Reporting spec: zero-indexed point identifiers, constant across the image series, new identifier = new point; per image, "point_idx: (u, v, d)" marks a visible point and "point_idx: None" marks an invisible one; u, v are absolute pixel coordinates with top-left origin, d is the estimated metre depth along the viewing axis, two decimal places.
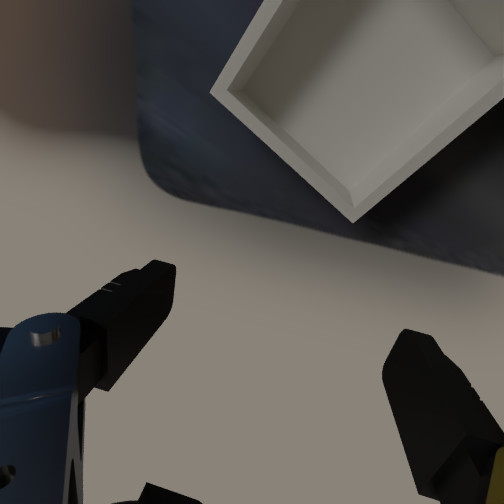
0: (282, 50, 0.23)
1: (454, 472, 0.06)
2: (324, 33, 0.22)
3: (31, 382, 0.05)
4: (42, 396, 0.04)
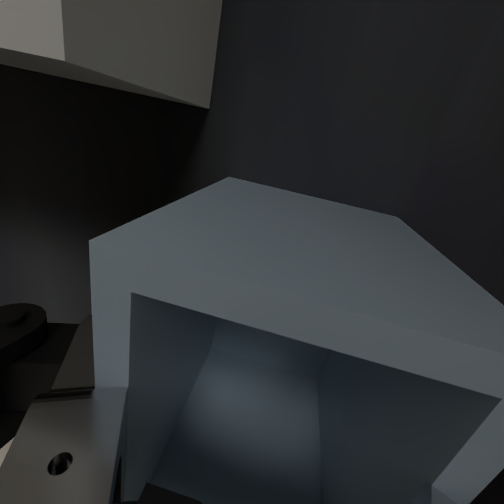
0: None
1: None
2: None
3: (92, 373, 0.05)
4: (101, 389, 0.04)
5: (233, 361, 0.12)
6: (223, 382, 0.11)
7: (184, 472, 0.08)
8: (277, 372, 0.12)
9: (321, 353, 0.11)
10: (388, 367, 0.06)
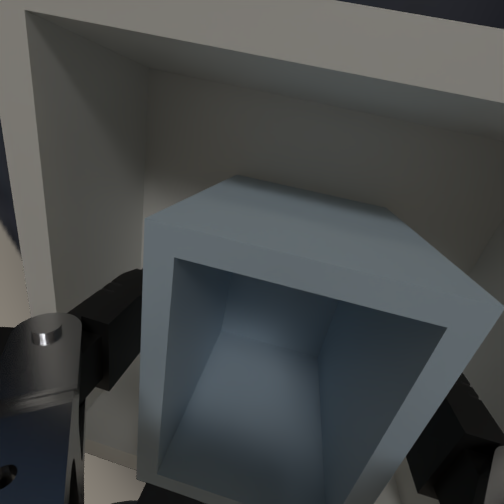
0: (259, 120, 0.10)
1: (453, 471, 0.06)
2: (320, 190, 0.11)
3: (32, 382, 0.05)
4: (43, 396, 0.04)
5: (241, 341, 0.13)
6: (233, 358, 0.12)
7: (203, 428, 0.09)
8: (281, 351, 0.13)
9: (321, 333, 0.13)
10: (374, 329, 0.07)
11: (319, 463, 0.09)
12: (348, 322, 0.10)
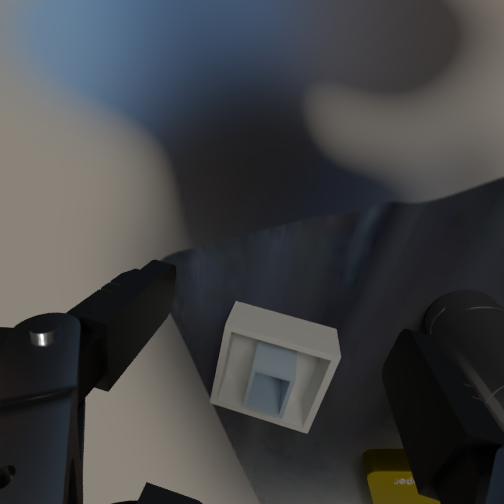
0: None
1: (455, 472, 0.06)
2: None
3: (31, 381, 0.05)
4: (42, 396, 0.04)
5: (260, 375, 0.45)
6: (258, 380, 0.44)
7: (254, 397, 0.41)
8: (271, 378, 0.45)
9: None
10: None
11: (279, 404, 0.41)
12: None
